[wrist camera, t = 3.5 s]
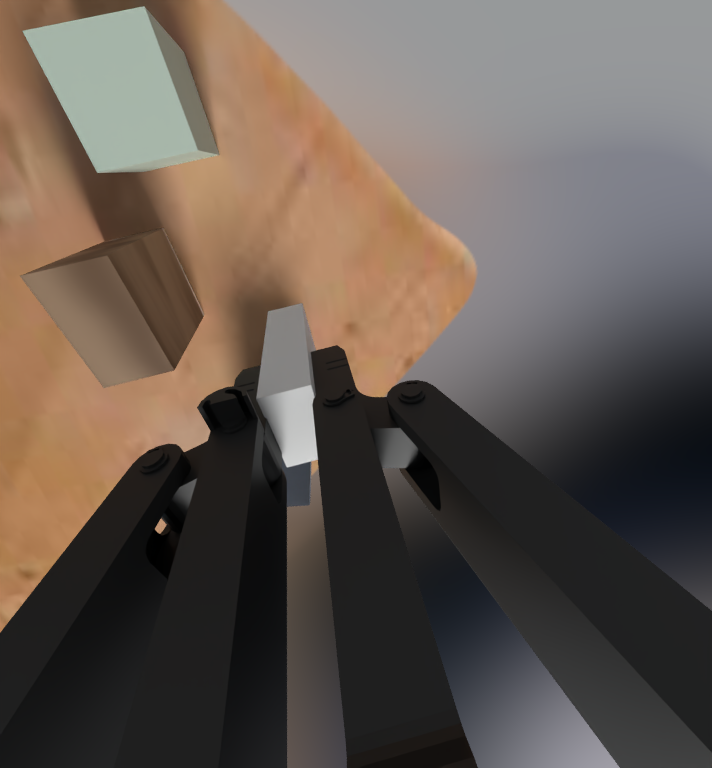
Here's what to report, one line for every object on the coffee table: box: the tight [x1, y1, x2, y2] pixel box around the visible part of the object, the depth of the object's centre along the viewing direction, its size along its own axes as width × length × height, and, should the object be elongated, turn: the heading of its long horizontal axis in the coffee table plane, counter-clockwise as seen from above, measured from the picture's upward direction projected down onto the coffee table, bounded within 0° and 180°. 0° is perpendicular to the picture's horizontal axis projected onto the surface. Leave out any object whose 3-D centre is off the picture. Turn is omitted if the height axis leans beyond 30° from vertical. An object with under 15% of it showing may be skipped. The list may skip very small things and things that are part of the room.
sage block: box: [23, 6, 219, 173], centre depth 22 cm, size 6×6×8 cm
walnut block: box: [20, 228, 204, 388], centre depth 26 cm, size 5×8×11 cm, turn 11°
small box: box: [282, 458, 311, 507], centre depth 36 cm, size 11×6×10 cm, turn 175°
